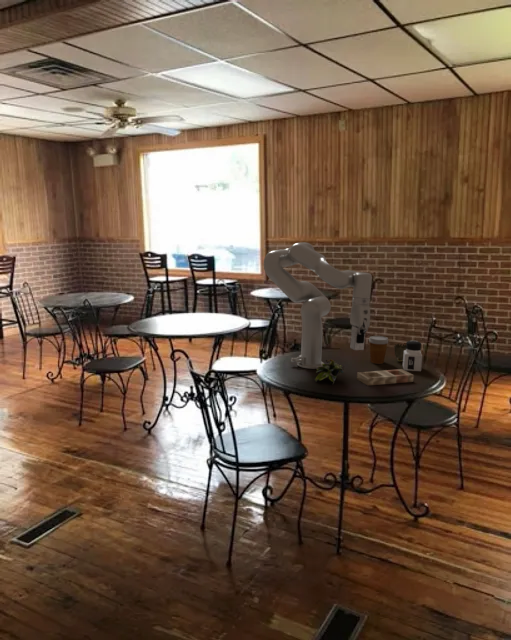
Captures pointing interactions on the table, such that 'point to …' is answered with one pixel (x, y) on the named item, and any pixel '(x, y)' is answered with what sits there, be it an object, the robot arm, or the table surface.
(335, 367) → the passion flower
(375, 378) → the block with square holes
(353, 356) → the table surface
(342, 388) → the table surface
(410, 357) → the container
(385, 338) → the disposable coffee cup
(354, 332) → the peg
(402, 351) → the cup
